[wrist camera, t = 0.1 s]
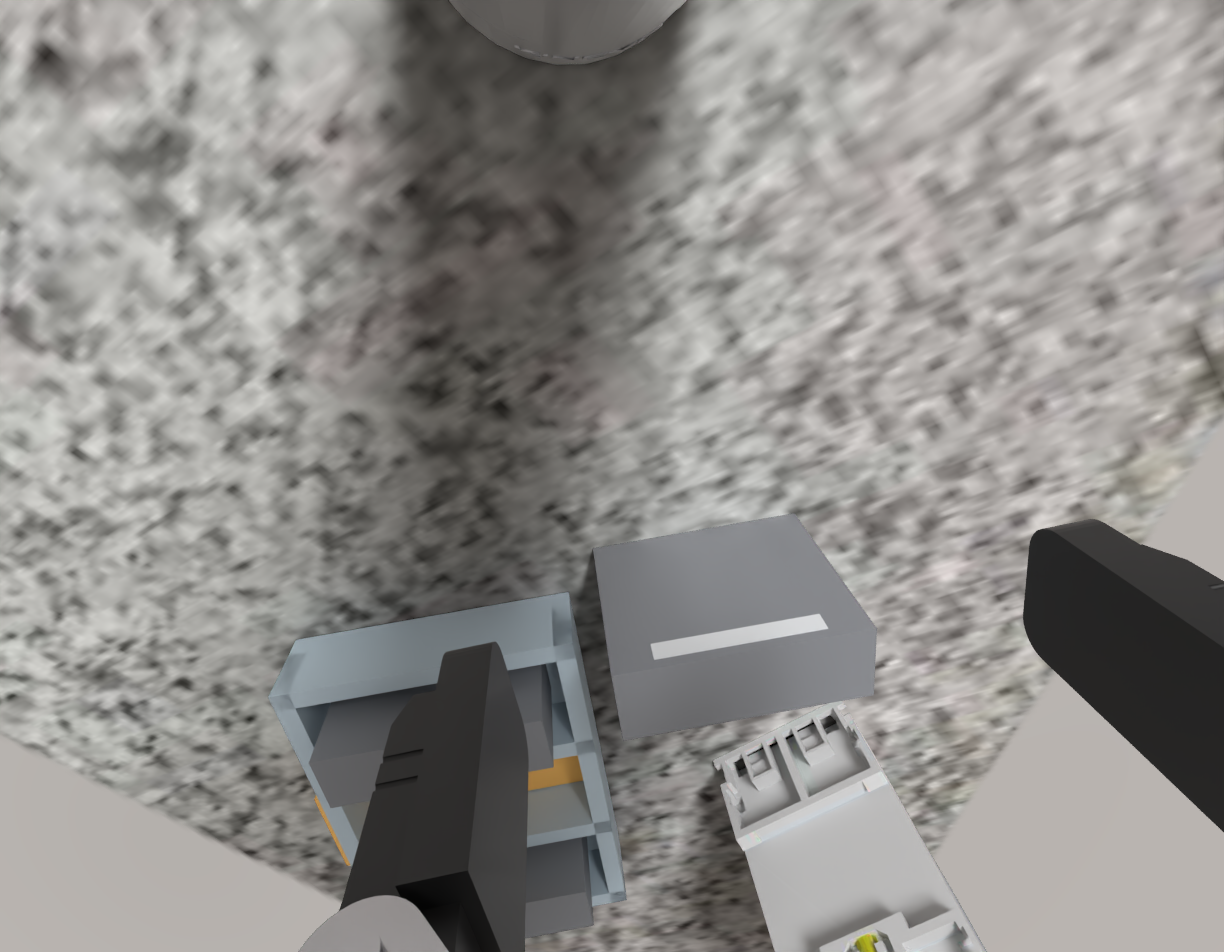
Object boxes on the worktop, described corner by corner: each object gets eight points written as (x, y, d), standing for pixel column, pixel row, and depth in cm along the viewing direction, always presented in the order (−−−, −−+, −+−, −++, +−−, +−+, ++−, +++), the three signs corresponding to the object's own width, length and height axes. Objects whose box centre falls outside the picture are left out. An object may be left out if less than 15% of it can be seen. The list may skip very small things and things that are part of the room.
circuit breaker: (813, 892, 42) (945, 1243, 28) (713, 760, 36) (819, 1126, 22) (925, 842, 41) (1117, 1181, 27) (840, 697, 35) (1033, 1041, 21)
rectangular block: (592, 547, 29) (611, 675, 22) (794, 512, 30) (876, 627, 22) (602, 603, 31) (623, 741, 24) (795, 569, 31) (873, 695, 24)
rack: (289, 641, 30) (240, 738, 25) (568, 591, 30) (575, 677, 25) (396, 879, 37) (375, 990, 32) (618, 837, 38) (631, 940, 33)
